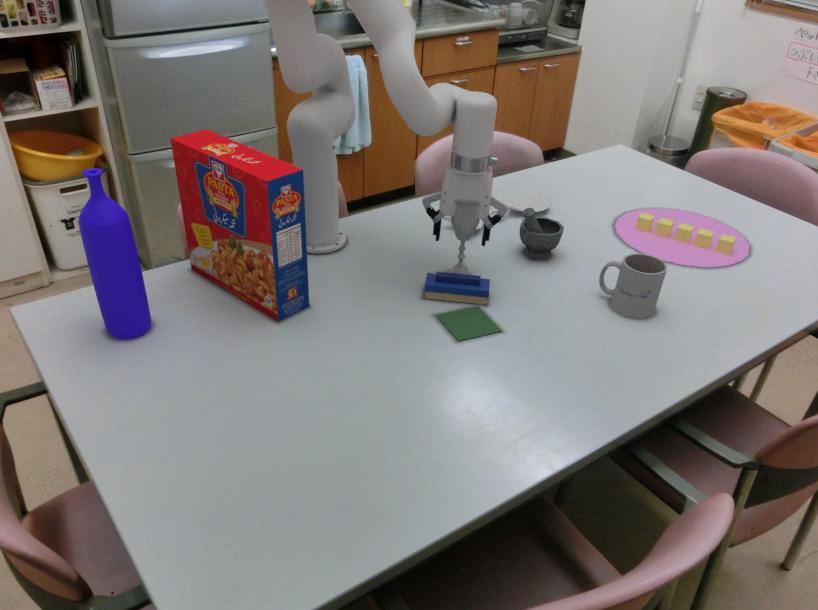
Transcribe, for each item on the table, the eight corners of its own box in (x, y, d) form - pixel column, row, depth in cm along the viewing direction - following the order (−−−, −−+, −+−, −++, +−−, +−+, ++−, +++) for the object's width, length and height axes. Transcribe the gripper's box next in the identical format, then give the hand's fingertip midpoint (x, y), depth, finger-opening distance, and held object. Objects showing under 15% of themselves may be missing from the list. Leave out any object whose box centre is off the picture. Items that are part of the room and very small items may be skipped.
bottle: (162, 321, 129) (131, 166, 111) (134, 345, 123) (96, 184, 105) (125, 312, 131) (88, 158, 113) (96, 334, 125) (52, 175, 107)
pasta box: (191, 270, 145) (170, 138, 128) (222, 257, 150) (206, 129, 133) (278, 322, 131) (266, 181, 114) (309, 306, 136) (303, 169, 119)
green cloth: (458, 341, 129) (458, 340, 129) (435, 315, 135) (436, 314, 135) (501, 331, 132) (501, 330, 132) (478, 306, 139) (478, 306, 139)
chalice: (441, 268, 151) (448, 190, 140) (471, 268, 151) (481, 190, 141) (445, 285, 145) (453, 204, 134) (477, 285, 146) (487, 205, 135)
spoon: (440, 227, 167) (441, 214, 165) (531, 199, 183) (533, 186, 181) (465, 241, 162) (467, 228, 159) (556, 211, 178) (559, 198, 176)
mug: (661, 308, 142) (675, 265, 135) (639, 323, 137) (653, 279, 131) (610, 284, 148) (621, 242, 142) (588, 298, 143) (598, 255, 137)
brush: (423, 299, 140) (425, 278, 137) (426, 286, 144) (427, 266, 141) (487, 305, 139) (490, 285, 136) (487, 293, 143) (490, 272, 140)
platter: (734, 281, 152) (739, 268, 150) (596, 241, 165) (599, 228, 163) (760, 230, 174) (765, 218, 172) (637, 198, 187) (640, 186, 185)
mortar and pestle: (538, 240, 164) (547, 192, 157) (566, 256, 158) (577, 207, 151) (503, 251, 159) (510, 202, 151) (530, 268, 153) (539, 218, 145)
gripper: (514, 158, 135) (501, 237, 146) (427, 149, 136) (421, 228, 147) (514, 172, 129) (501, 253, 140) (423, 163, 130) (417, 244, 141)
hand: (460, 240), depth 143 cm, fingers open, 9 cm apart
